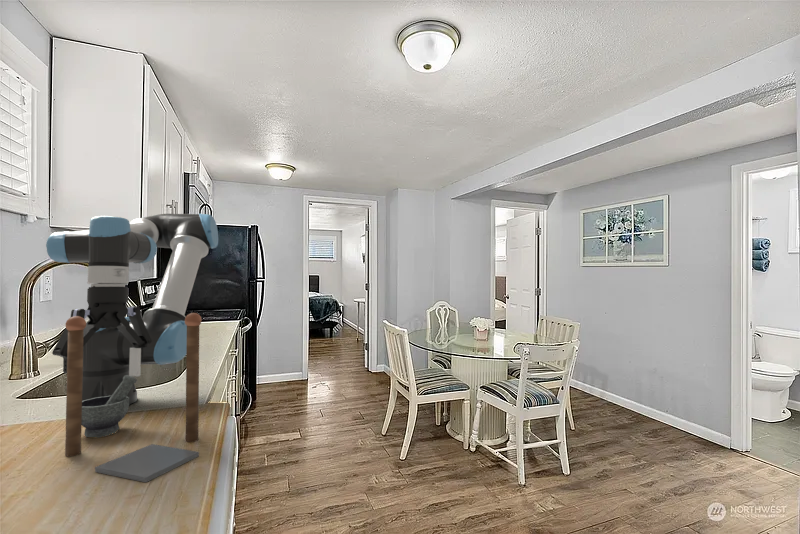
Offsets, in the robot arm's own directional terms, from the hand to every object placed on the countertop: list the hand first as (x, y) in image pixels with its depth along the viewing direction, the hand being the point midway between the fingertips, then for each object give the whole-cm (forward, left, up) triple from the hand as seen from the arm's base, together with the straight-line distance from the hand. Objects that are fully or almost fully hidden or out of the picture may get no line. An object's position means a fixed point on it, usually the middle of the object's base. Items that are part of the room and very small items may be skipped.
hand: (105, 382), depth 92 cm
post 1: (+10, +6, -11) cm, 16 cm away
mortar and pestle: (0, 0, -11) cm, 11 cm away
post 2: (-3, +22, -11) cm, 25 cm away
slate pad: (+9, +24, -11) cm, 28 cm away
